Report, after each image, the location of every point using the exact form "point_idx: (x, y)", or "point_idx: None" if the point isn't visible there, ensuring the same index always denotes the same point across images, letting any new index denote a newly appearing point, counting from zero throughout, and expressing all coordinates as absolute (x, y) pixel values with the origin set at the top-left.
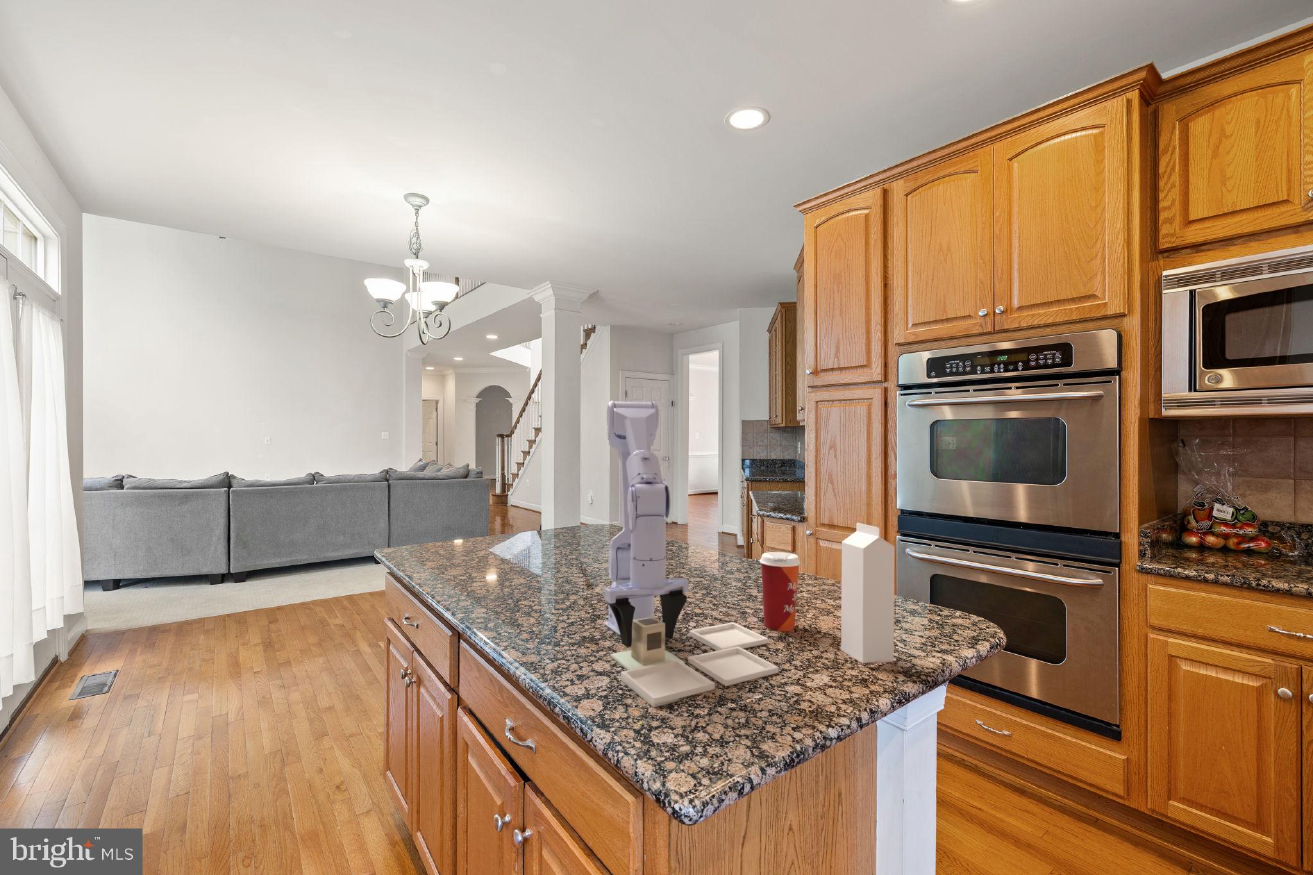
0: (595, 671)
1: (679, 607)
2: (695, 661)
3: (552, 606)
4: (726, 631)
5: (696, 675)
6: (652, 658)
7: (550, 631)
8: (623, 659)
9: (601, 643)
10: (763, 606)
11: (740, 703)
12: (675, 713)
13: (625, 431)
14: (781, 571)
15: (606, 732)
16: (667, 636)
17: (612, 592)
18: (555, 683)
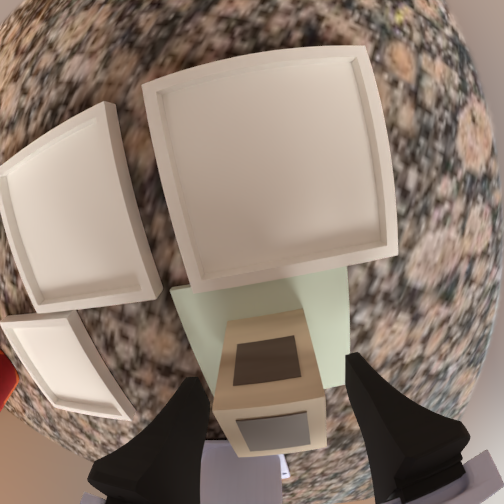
0: (414, 312)
1: (131, 453)
2: (142, 260)
3: (329, 501)
4: (66, 393)
5: (170, 158)
6: (270, 323)
7: None
8: (335, 353)
9: (330, 429)
10: (2, 400)
11: (124, 27)
12: (308, 10)
13: None
14: None
15: (456, 29)
16: (200, 388)
17: (495, 487)
18: (489, 271)
